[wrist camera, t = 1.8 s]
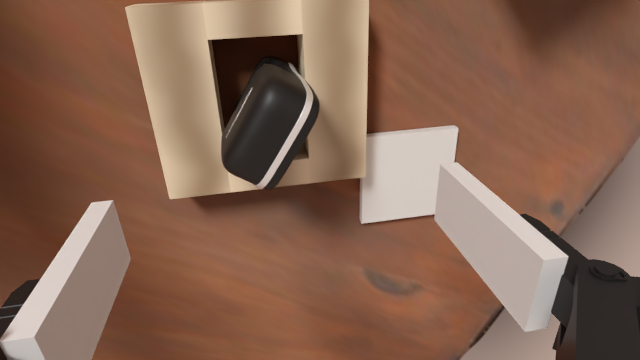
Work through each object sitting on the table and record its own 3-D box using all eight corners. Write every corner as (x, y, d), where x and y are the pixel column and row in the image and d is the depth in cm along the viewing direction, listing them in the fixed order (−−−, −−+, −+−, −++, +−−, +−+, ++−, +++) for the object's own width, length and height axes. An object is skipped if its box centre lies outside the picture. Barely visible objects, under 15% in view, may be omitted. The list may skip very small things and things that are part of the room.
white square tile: (359, 219, 40) (361, 223, 40) (360, 134, 36) (363, 137, 36) (444, 208, 42) (447, 212, 41) (454, 125, 38) (458, 128, 37)
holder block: (175, 179, 35) (169, 199, 32) (136, 3, 29) (124, 7, 26) (355, 160, 37) (365, 177, 34) (356, -7, 31) (369, -5, 28)
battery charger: (258, 41, 31) (268, 71, 21) (300, 66, 33) (328, 105, 23) (218, 118, 33) (210, 178, 23) (259, 138, 35) (269, 203, 25)
